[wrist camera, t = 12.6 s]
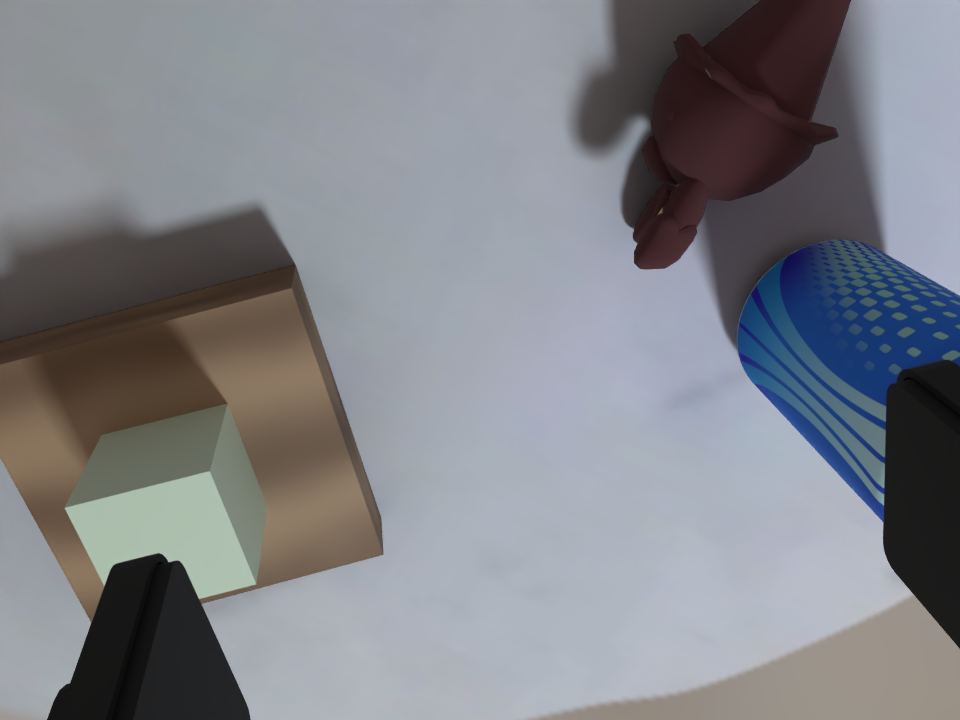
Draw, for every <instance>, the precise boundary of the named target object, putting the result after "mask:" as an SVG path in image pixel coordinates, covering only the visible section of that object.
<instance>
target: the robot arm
mask: <svg viewBox="0 0 960 720" xmlns="http://www.w3.org/2000/svg"><path fill="white" fill-rule="evenodd" d="M883 545H884V551H885V554H886V557H887V560H888V562H889V564H890V566H891V567H892V569H893V570H894V572H895V573H896V574H897V575H898V576H899V578H900V579H901V580H902V581H903V582H904V583H905V585H906V586H907V587H908V588H909V589H910V591H911V592H912V593H913V594H914V595H915V596H916V598H917V599H918V600H919V601H920V602H921V603H922V604H923V606H924V607H925V608H926V609H927V611H928V612H929V613H930V614H931V615H932V616H933V618H934V619H935V620H936V621H937V622H938V623H939V625H940V626H941V627H942V628H943V629H944V630H945V632H946V633H947V634H948V635H949V636H950V638H951V639H952V640H953V641H954V642H955V643H956V645H957V646H958V647H959V648H960V366H959V365H958V364H956V363H955V362H953V361H950V360H940V361H936V362H932V363H928V364H923V365H919V366H915V367H911V368H907V369H904V370H902V371H901V372H900V373H899V375H898V377H897V383H893V384H891V385H890V386H889V387H888V389H887V395H886V435H885V481H884V527H883ZM47 720H250V714H249V710H248V707H247V704H246V702H245V699H244V697H243V695H242V693H241V691H240V688H239V686H238V684H237V682H236V680H235V677H234V675H233V673H232V671H231V669H230V666H229V664H228V662H227V660H226V657H225V655H224V653H223V651H222V649H221V646H220V644H219V642H218V640H217V638H216V635H215V633H214V631H213V629H212V627H211V624H210V622H209V620H208V618H207V616H206V613H205V611H204V609H203V607H202V605H201V602H200V600H199V598H198V596H197V594H196V591H195V589H194V587H193V585H192V583H191V580H190V578H189V576H188V574H187V571H186V569H185V567H184V566H183V564H182V563H181V562H180V561H177V560H176V561H172V562H168V560H167V559H166V557H165V556H164V555H163V554H160V553H157V554H153V555H148V556H144V557H140V558H136V559H132V560H128V561H124V562H120V563H116V564H115V565H113V566H112V568H111V570H110V572H109V575H108V578H107V580H106V583H105V586H104V589H103V592H102V595H101V597H100V600H99V603H98V606H97V609H96V612H95V615H94V617H93V620H92V623H91V626H90V629H89V632H88V634H87V637H86V640H85V643H84V646H83V649H82V651H81V654H80V657H79V660H78V663H77V666H76V668H75V671H74V674H73V677H72V680H71V683H70V684H66V685H65V686H64V687H63V688H62V689H61V690H60V691H59V692H58V694H57V696H56V698H55V700H54V702H53V705H52V708H51V710H50V713H49V716H48V719H47Z"/></svg>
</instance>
